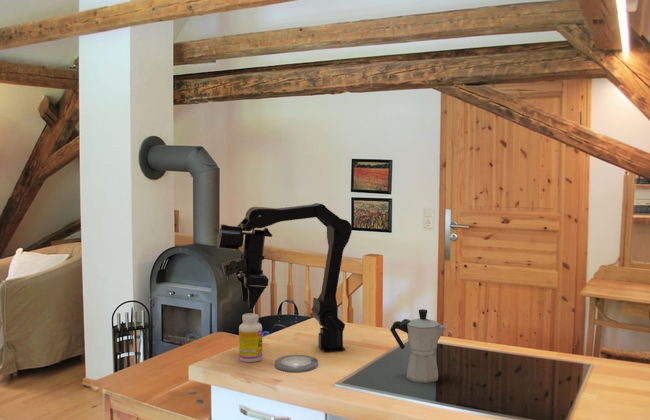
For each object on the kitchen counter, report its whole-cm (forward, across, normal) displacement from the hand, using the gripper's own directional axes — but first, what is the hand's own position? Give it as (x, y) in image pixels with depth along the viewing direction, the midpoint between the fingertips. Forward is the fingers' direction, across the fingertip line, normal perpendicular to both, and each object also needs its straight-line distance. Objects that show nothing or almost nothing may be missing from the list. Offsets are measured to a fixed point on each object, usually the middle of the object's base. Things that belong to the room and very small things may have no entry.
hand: (247, 304), depth 177 cm
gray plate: (+14, +11, +13) cm, 22 cm away
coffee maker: (+11, +30, +41) cm, 52 cm away
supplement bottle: (+16, +2, +2) cm, 16 cm away
